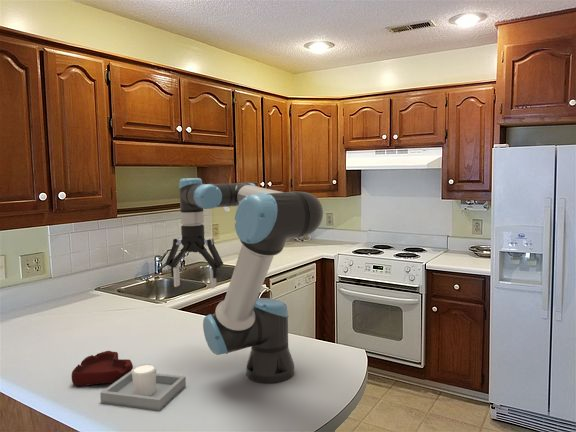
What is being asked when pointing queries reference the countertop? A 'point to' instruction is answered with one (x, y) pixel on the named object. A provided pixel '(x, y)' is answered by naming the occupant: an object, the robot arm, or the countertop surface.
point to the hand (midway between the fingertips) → (195, 286)
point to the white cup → (144, 379)
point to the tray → (126, 396)
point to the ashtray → (101, 369)
